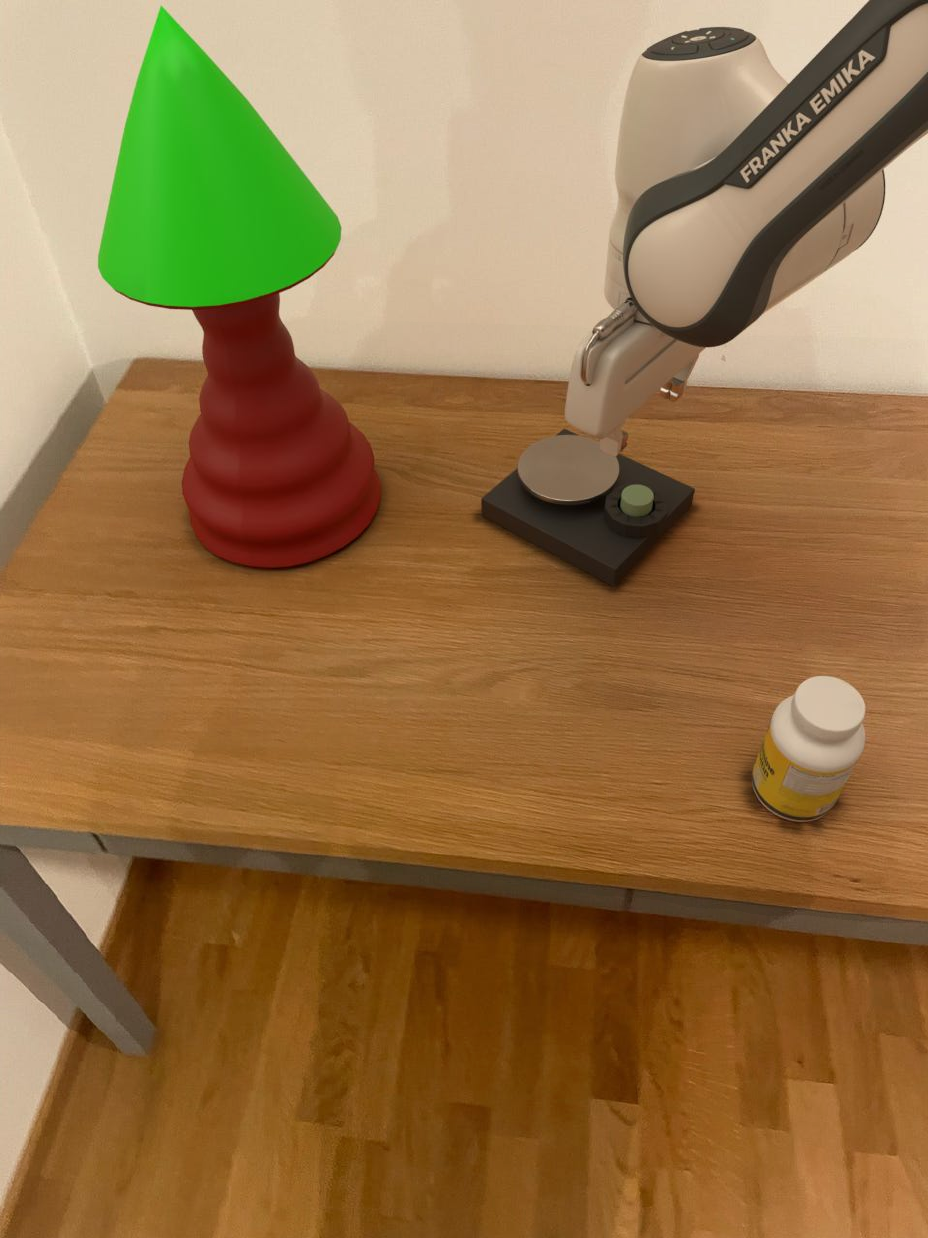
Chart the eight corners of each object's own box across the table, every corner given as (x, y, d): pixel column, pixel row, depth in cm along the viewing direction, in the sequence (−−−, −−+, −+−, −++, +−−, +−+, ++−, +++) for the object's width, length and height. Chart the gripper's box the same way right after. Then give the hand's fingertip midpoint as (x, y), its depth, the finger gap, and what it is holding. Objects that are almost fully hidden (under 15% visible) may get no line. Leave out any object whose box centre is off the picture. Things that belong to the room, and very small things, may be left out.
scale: (695, 508, 93) (701, 477, 90) (617, 589, 86) (621, 559, 83) (563, 445, 100) (564, 415, 97) (481, 516, 94) (480, 486, 91)
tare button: (658, 504, 88) (659, 492, 87) (640, 522, 87) (642, 509, 86) (631, 492, 90) (633, 479, 89) (614, 508, 88) (615, 496, 87)
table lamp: (158, 556, 92) (-53, 52, 58) (236, 433, 104) (100, -42, 70) (347, 585, 88) (239, 65, 54) (404, 454, 101) (346, -37, 67)
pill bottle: (773, 739, 75) (807, 649, 66) (850, 782, 72) (895, 694, 63) (734, 795, 72) (764, 709, 63) (812, 842, 69) (855, 758, 60)
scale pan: (638, 464, 92) (639, 459, 91) (580, 519, 87) (580, 515, 87) (557, 426, 96) (557, 422, 96) (497, 477, 91) (496, 472, 91)
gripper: (623, 351, 63) (606, 501, 74) (766, 232, 73) (732, 380, 84) (549, 321, 66) (542, 469, 77) (696, 210, 76) (672, 355, 87)
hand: (643, 422), depth 80 cm, fingers open, 8 cm apart
